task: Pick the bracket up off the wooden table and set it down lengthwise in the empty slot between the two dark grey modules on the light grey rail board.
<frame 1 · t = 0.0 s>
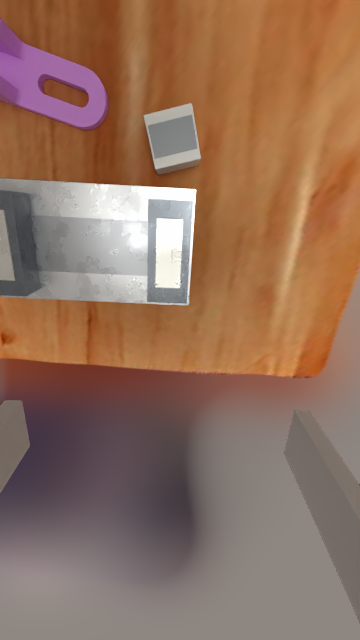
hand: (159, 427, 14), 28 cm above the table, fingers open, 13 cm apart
bracket: (52, 90, 32), on the table
rail board: (95, 245, 38), on the table
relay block: (173, 147, 34), on the table
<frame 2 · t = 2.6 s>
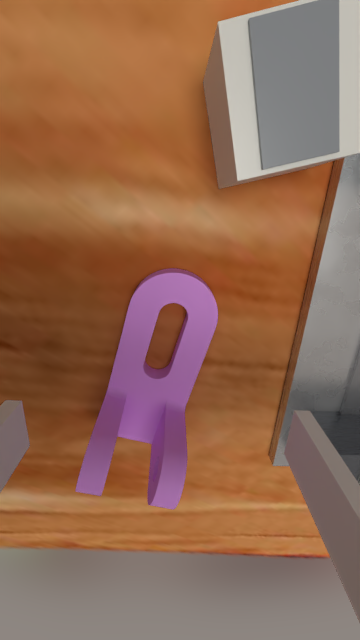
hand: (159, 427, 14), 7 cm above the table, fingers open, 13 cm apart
bracket: (158, 355, 20), on the table
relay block: (257, 128, 15), on the table
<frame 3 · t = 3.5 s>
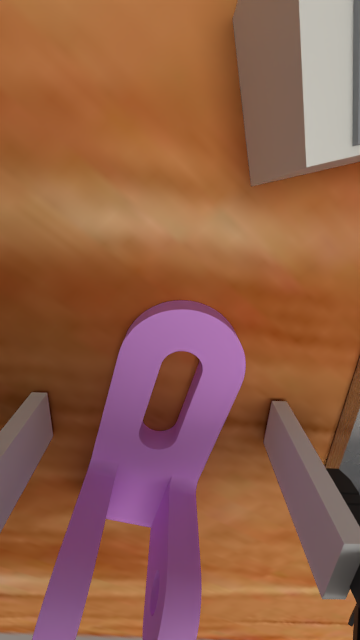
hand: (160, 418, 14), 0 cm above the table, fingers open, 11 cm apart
bracket: (160, 412, 15), on the table
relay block: (312, 93, 10), on the table
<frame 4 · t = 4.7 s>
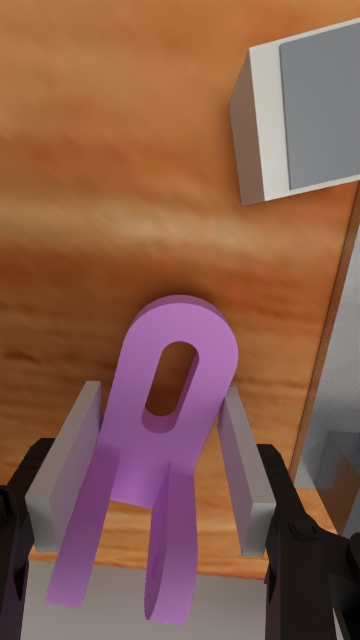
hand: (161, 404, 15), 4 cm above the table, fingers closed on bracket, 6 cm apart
bracket: (160, 400, 16), point 4 cm above the table, touching gripper
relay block: (281, 146, 15), on the table
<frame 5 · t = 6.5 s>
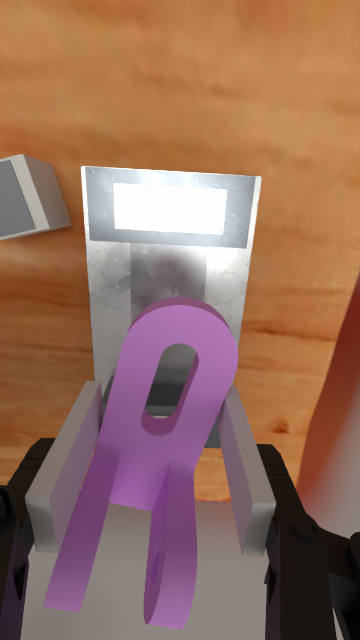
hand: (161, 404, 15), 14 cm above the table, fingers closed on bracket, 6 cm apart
bracket: (160, 402, 16), point 14 cm above the table, touching gripper
rail board: (167, 314, 29), on the table
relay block: (36, 202, 25), on the table
when the fingers open (2 cm above the table, at t = 8.4 s): bracket stays where it is, resting on rail board.
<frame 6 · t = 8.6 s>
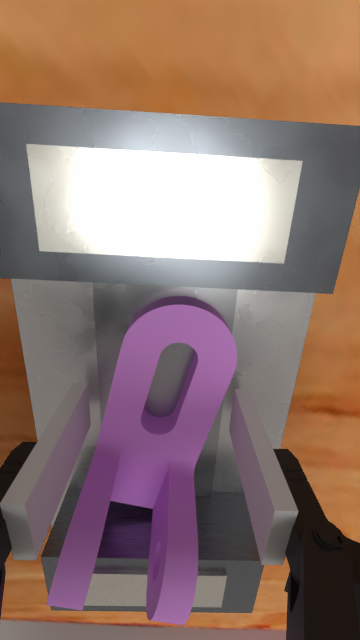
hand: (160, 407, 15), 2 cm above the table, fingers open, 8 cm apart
bracket: (160, 401, 16), point 1 cm above the table, touching rail board
rail board: (162, 386, 17), on the table
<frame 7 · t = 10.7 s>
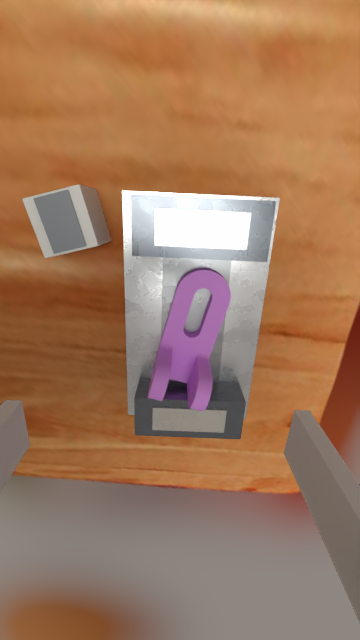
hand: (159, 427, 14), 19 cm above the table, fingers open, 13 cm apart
bracket: (191, 324, 31), point 1 cm above the table, touching rail board
rail board: (192, 318, 32), on the table
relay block: (80, 221, 29), on the table
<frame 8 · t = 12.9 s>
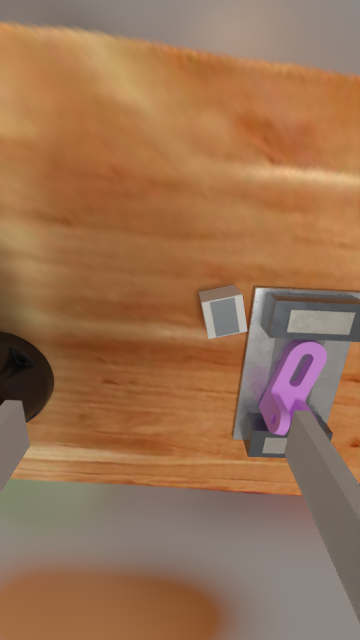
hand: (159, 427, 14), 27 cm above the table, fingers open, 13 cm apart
bracket: (291, 375, 43), point 1 cm above the table, touching rail board
rail board: (289, 370, 44), on the table
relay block: (219, 305, 40), on the table
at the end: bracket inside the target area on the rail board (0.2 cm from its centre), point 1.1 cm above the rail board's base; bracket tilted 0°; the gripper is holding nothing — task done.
